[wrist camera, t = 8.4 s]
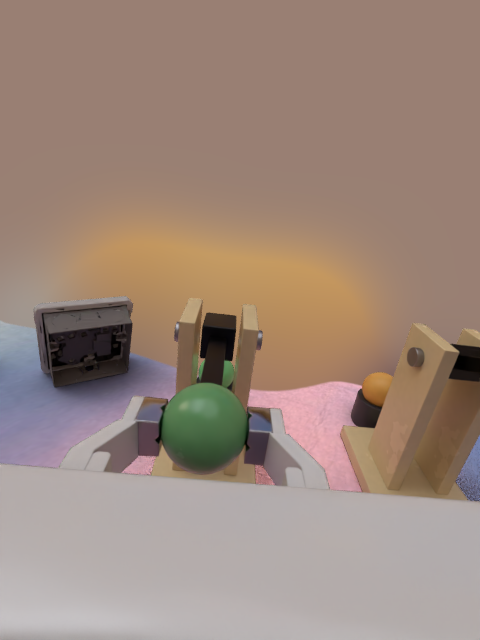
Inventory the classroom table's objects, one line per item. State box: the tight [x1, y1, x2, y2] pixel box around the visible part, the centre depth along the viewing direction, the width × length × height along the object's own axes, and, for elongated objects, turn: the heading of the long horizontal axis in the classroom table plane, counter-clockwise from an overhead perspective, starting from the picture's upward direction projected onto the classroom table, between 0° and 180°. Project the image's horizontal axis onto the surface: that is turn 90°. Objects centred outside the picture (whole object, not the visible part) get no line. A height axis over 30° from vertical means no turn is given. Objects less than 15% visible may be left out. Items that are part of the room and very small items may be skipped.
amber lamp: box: [351, 372, 393, 428], centre depth 34 cm, size 4×4×6 cm
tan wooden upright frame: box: [340, 323, 480, 501], centre depth 26 cm, size 10×8×14 cm
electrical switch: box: [34, 296, 133, 387], centre depth 35 cm, size 9×5×9 cm, turn 123°
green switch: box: [160, 313, 248, 475], centre depth 18 cm, size 13×4×4 cm, turn 0°
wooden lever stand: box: [151, 298, 262, 484], centre depth 25 cm, size 10×8×14 cm
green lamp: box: [196, 360, 234, 391], centre depth 33 cm, size 4×4×6 cm
